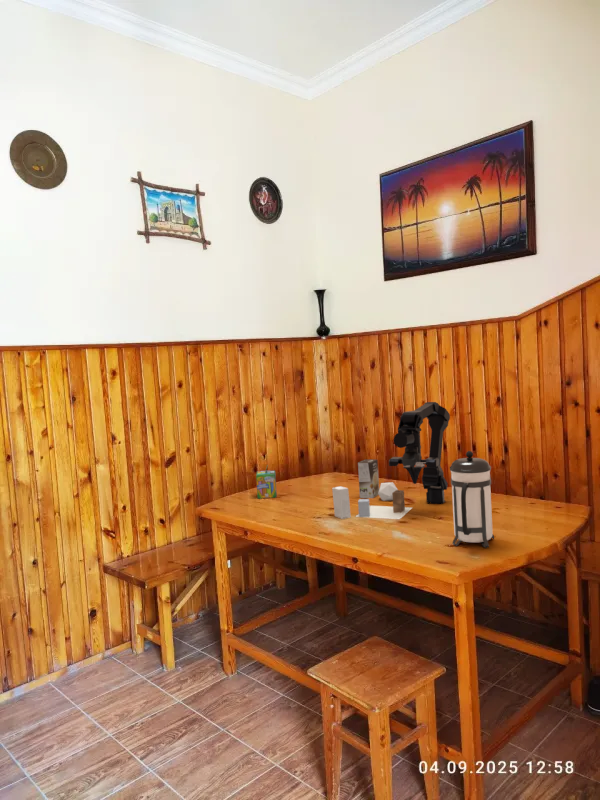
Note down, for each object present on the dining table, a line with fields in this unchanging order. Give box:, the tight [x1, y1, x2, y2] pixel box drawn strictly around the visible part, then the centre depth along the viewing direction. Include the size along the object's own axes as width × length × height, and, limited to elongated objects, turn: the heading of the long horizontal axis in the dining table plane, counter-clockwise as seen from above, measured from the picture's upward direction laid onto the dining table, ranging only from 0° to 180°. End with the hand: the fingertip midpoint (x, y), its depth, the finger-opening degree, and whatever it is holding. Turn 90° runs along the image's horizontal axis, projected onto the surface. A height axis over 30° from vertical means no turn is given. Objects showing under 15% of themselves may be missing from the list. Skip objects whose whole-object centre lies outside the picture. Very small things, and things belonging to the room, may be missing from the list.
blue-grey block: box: [357, 498, 371, 518], centre depth 236 cm, size 4×4×6 cm
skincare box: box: [331, 486, 352, 520], centre depth 236 cm, size 6×4×12 cm
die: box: [377, 481, 399, 502], centre depth 260 cm, size 8×9×10 cm
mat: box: [355, 505, 413, 520], centre depth 239 cm, size 18×18×1 cm
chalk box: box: [255, 464, 278, 499], centre depth 284 cm, size 9×9×15 cm
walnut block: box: [392, 489, 406, 513], centre depth 238 cm, size 3×5×8 cm, turn 154°
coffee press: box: [449, 450, 495, 549], centre depth 194 cm, size 17×16×30 cm
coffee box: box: [357, 458, 380, 499], centre depth 271 cm, size 9×6×16 cm
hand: (414, 483), depth 235 cm, fingers closed
